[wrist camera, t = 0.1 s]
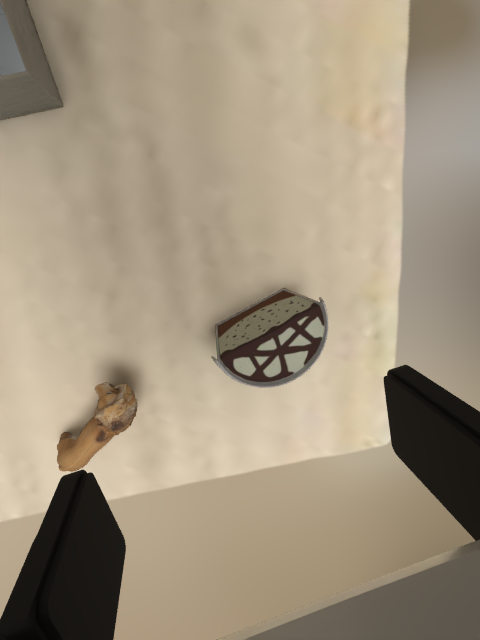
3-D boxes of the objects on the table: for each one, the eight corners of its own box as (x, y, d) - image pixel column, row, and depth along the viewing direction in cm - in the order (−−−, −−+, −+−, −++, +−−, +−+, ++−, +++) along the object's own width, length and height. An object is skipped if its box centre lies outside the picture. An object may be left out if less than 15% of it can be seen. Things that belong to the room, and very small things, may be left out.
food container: (227, 371, 44) (242, 414, 35) (204, 331, 42) (213, 365, 33) (313, 324, 45) (351, 354, 35) (294, 282, 43) (329, 302, 33)
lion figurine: (112, 352, 41) (96, 388, 33) (152, 373, 43) (148, 412, 34) (51, 449, 43) (21, 507, 35) (92, 465, 45) (73, 524, 36)
